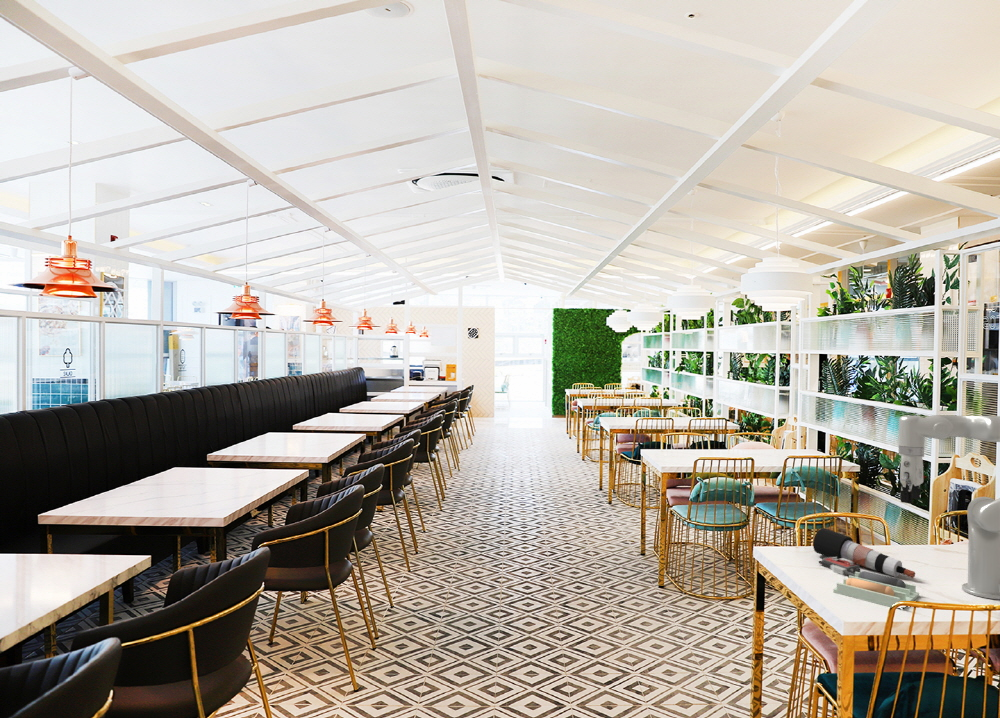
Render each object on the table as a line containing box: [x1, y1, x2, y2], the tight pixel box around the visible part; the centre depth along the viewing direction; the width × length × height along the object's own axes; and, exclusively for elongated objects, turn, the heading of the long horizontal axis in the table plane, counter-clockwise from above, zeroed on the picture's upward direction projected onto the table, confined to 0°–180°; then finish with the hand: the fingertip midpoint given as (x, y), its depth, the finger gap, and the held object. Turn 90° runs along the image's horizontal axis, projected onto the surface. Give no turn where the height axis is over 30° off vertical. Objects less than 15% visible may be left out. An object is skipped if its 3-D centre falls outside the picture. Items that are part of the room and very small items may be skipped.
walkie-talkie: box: [818, 556, 861, 577], centre depth 233 cm, size 9×4×20 cm
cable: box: [813, 527, 916, 579], centre depth 239 cm, size 10×34×10 cm, turn 33°
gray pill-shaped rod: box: [858, 570, 906, 588], centre depth 215 cm, size 14×4×4 cm, turn 43°
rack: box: [832, 571, 920, 610], centre depth 211 cm, size 20×18×3 cm
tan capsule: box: [846, 577, 894, 596], centre depth 208 cm, size 14×4×4 cm, turn 43°
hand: (910, 500), depth 223 cm, fingers open, 9 cm apart
